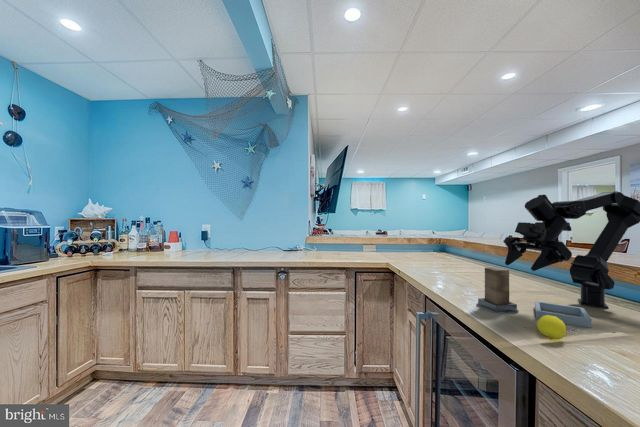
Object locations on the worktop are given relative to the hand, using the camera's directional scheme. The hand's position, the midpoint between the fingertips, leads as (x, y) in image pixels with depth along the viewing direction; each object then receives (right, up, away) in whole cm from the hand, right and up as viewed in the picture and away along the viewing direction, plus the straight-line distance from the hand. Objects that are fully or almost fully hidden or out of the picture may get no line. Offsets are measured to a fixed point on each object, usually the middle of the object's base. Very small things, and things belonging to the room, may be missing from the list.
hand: (518, 267), depth 86 cm
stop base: (-8, -13, -1) cm, 15 cm away
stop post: (-8, -12, -1) cm, 15 cm away
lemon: (-6, -13, -20) cm, 25 cm away
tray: (+6, -13, -9) cm, 17 cm away
